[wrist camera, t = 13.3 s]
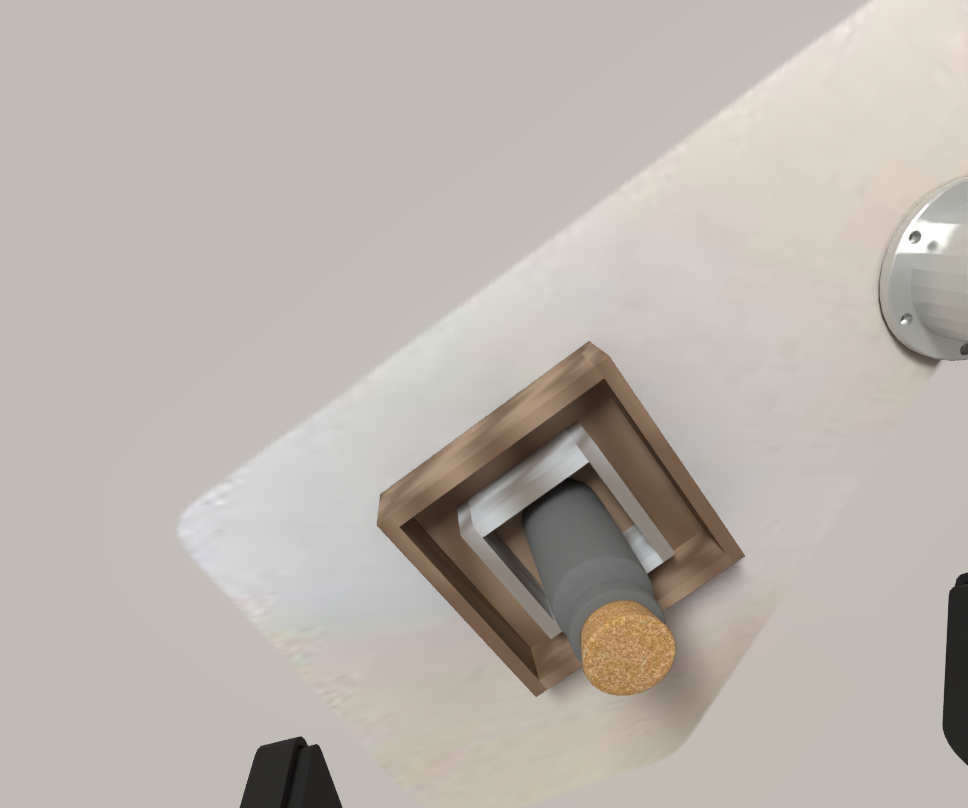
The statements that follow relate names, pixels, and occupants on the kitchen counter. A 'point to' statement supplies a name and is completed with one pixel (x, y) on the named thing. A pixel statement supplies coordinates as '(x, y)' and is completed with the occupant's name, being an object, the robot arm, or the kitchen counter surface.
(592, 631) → the bottle
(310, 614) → the kitchen counter surface
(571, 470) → the walled box
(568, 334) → the kitchen counter surface
